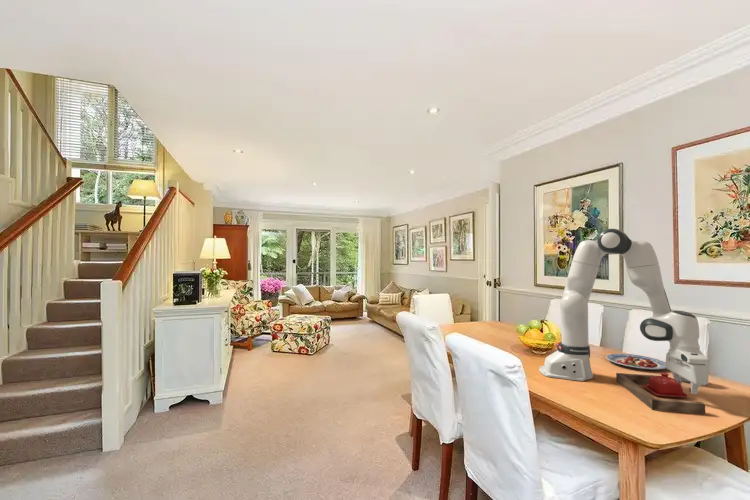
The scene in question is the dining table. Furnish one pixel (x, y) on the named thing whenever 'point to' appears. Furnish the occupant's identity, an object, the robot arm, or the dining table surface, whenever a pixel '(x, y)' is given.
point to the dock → (654, 403)
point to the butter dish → (665, 386)
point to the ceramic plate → (637, 361)
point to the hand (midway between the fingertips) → (685, 388)
